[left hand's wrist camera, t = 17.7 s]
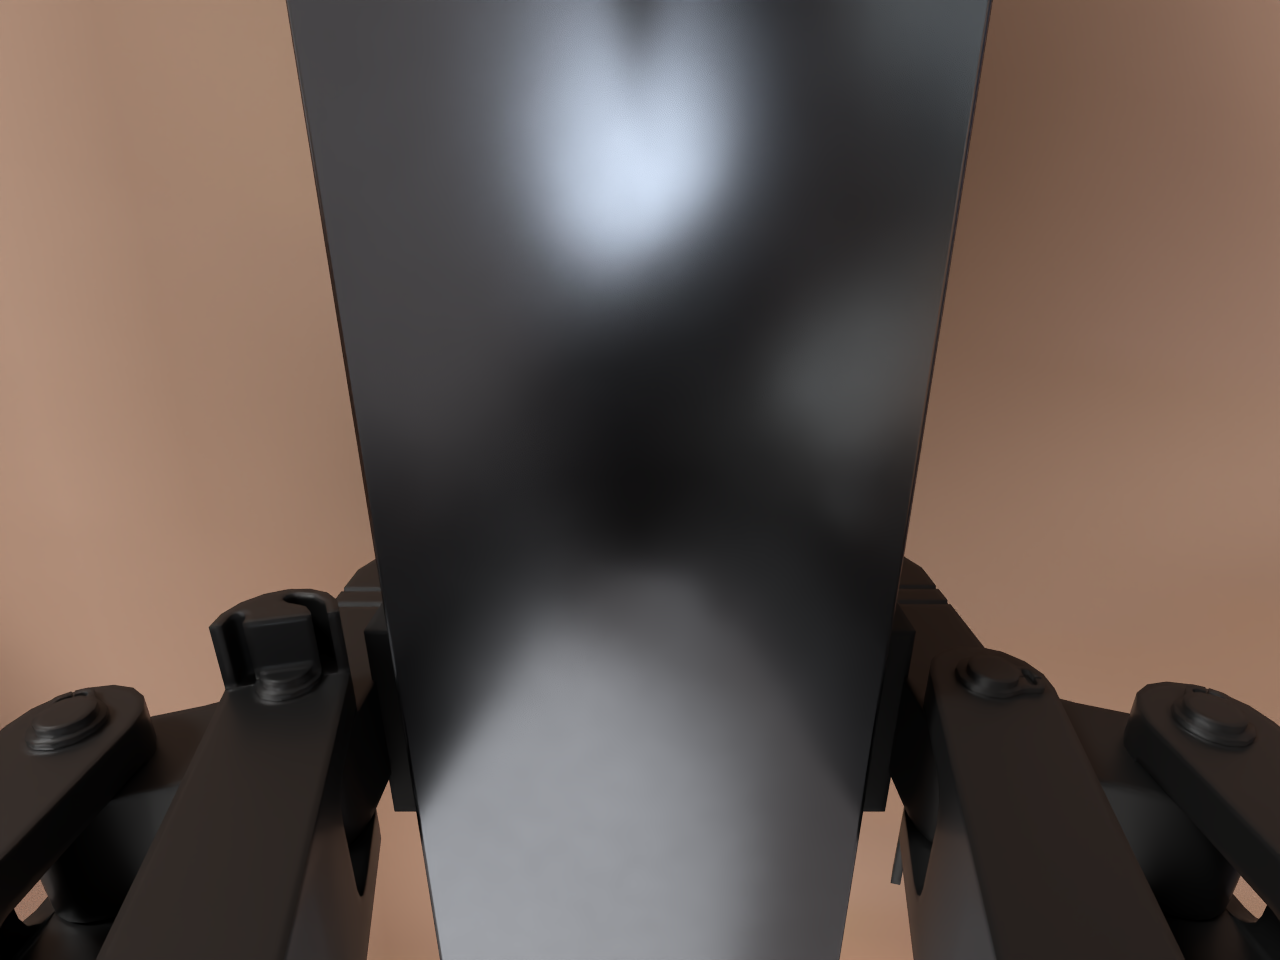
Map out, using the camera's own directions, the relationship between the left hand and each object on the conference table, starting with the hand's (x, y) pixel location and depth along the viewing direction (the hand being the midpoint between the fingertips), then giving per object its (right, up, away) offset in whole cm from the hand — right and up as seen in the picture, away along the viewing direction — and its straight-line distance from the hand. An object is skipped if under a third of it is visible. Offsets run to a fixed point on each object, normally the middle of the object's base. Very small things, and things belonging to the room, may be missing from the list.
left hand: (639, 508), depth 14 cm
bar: (0, +8, -2) cm, 8 cm away
